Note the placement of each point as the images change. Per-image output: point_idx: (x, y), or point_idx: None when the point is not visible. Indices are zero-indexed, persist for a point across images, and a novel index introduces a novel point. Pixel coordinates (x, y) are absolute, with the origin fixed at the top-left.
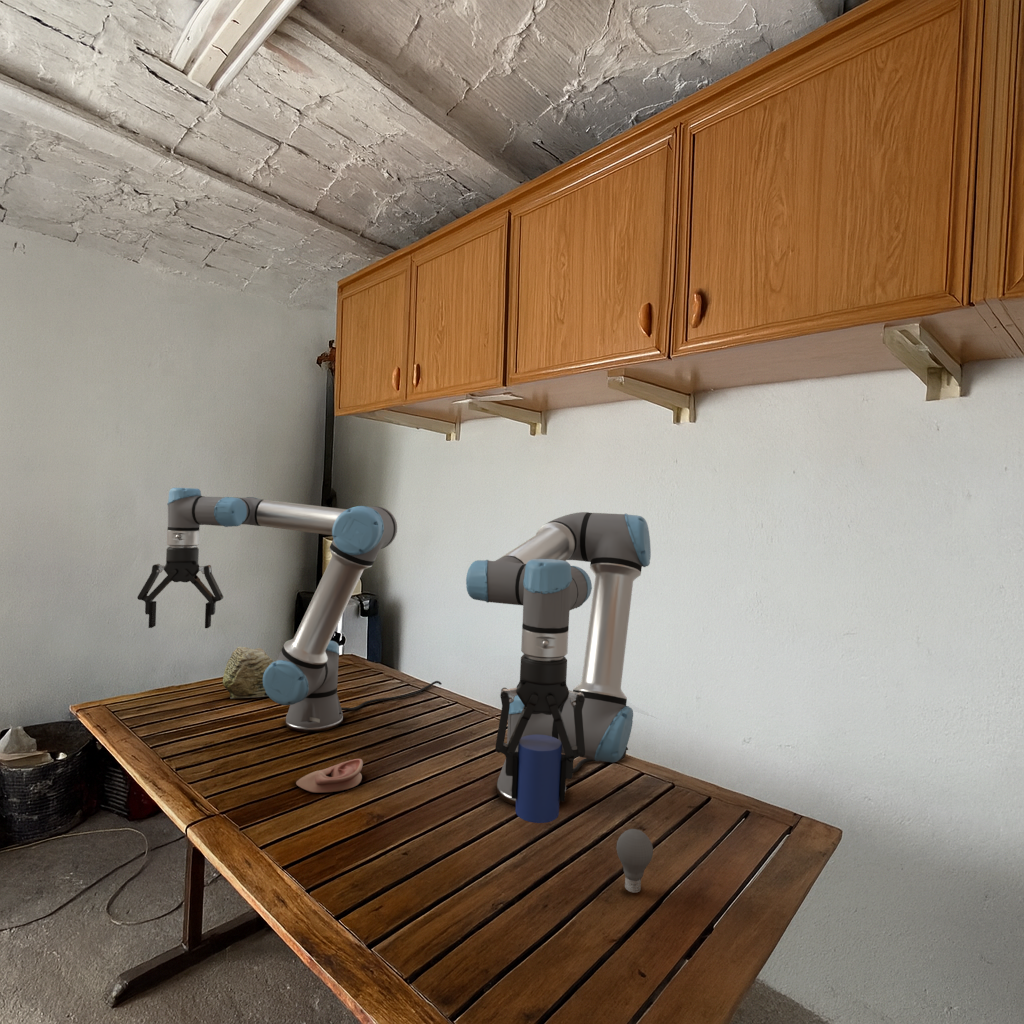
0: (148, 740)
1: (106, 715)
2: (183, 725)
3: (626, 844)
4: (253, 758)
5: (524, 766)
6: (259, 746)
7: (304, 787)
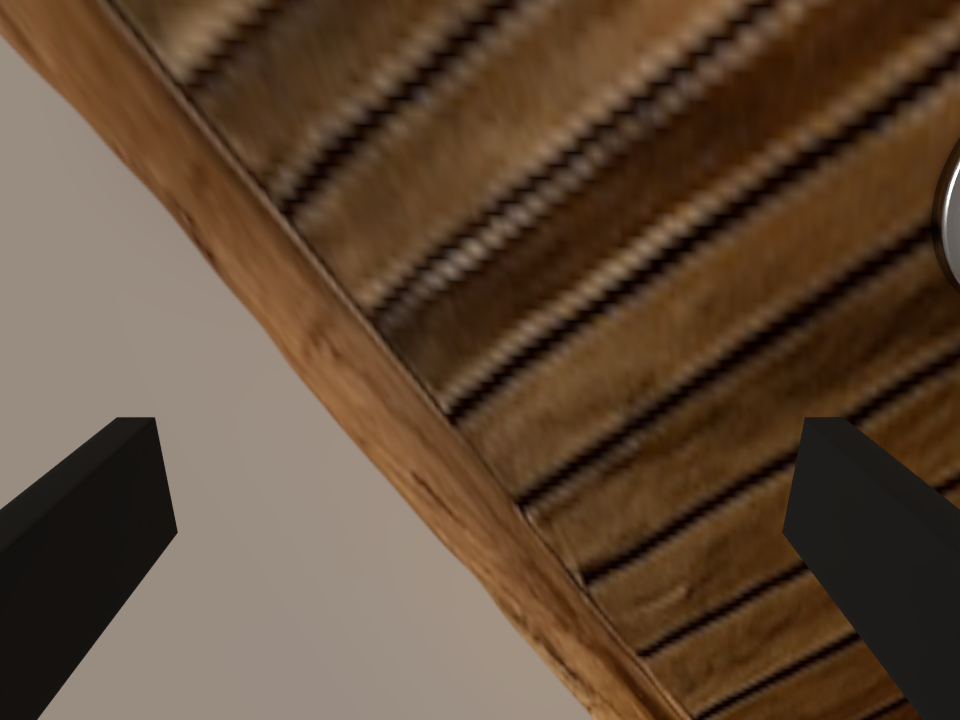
0: (413, 352)
1: (79, 18)
2: (491, 190)
3: None
4: None
5: None
6: None
7: None
